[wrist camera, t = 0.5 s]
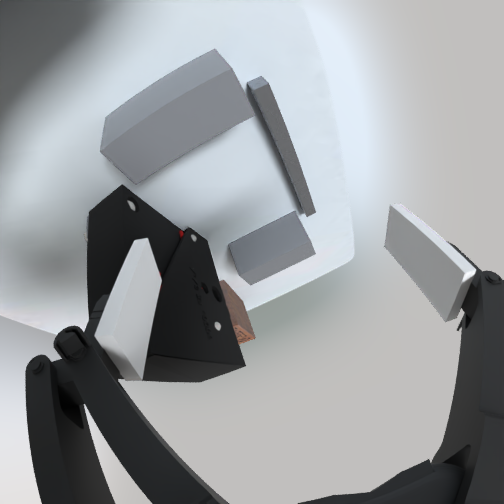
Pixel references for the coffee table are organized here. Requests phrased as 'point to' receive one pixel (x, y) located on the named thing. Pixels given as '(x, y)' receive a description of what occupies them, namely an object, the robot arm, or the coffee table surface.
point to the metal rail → (282, 140)
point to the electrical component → (165, 289)
